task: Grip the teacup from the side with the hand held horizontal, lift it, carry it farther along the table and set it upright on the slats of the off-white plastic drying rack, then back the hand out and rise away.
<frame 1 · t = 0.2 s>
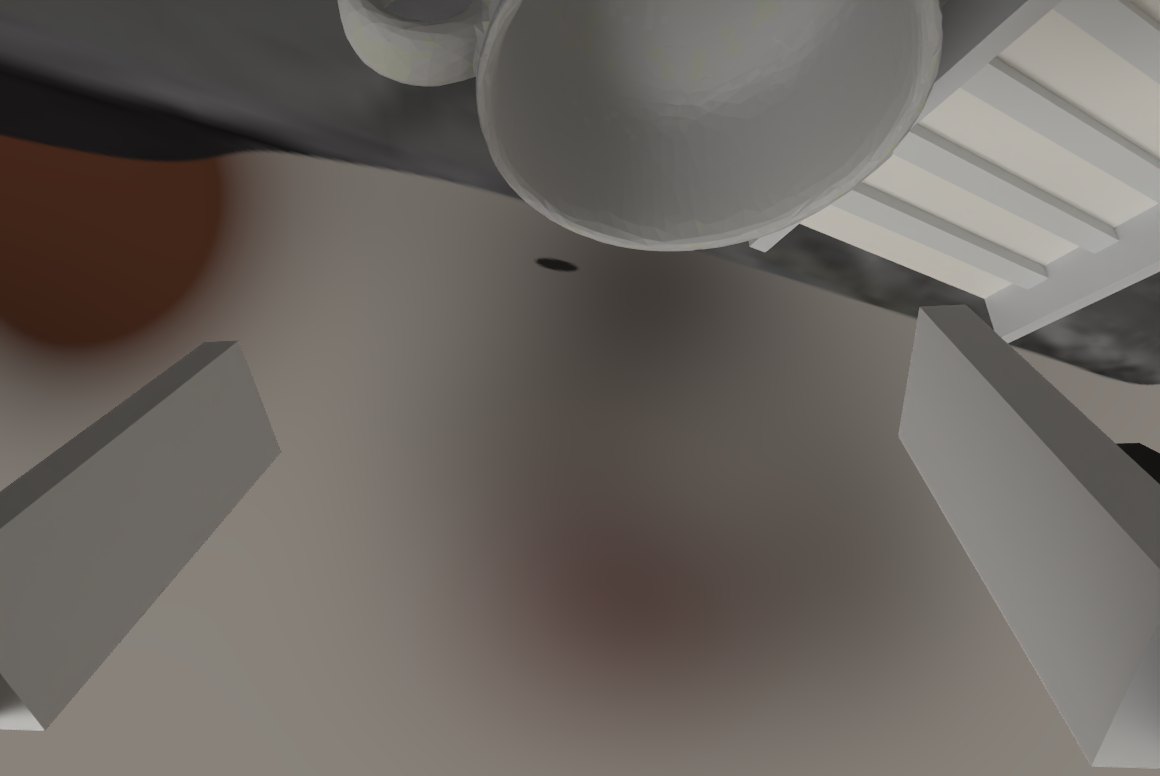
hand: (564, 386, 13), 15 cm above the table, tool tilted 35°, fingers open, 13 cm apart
drying rack: (1022, 130, 26), on the table
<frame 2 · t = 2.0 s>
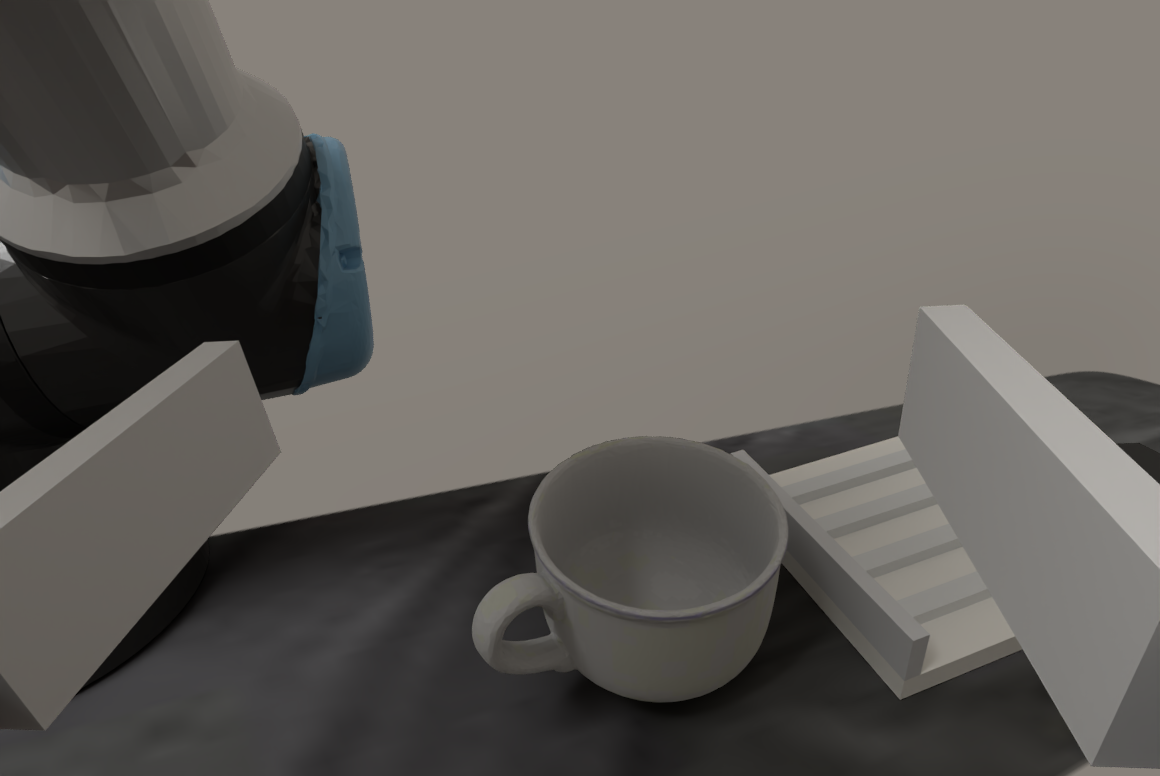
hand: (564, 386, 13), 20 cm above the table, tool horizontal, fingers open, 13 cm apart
drying rack: (929, 538, 35), on the table
teacup: (630, 651, 31), on the table
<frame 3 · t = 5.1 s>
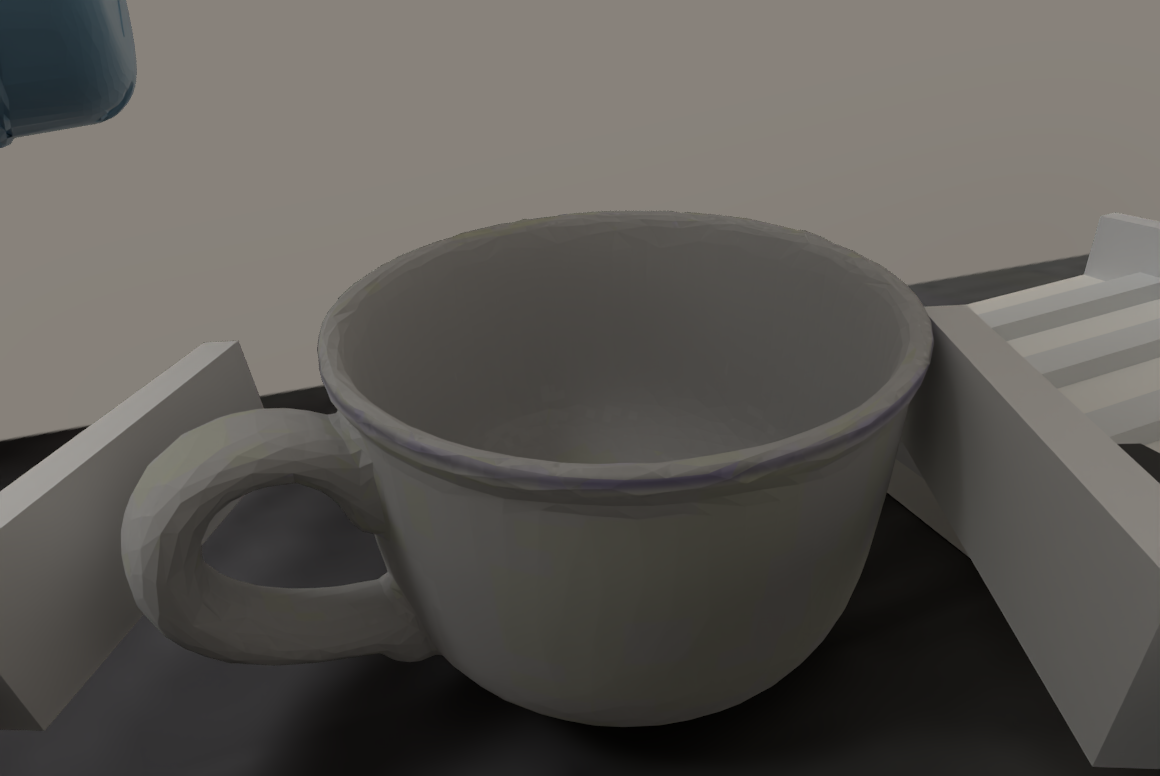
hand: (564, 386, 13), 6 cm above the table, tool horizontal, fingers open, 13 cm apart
drying rack: (1115, 426, 20), on the table
teacup: (575, 620, 16), on the table, touching gripper
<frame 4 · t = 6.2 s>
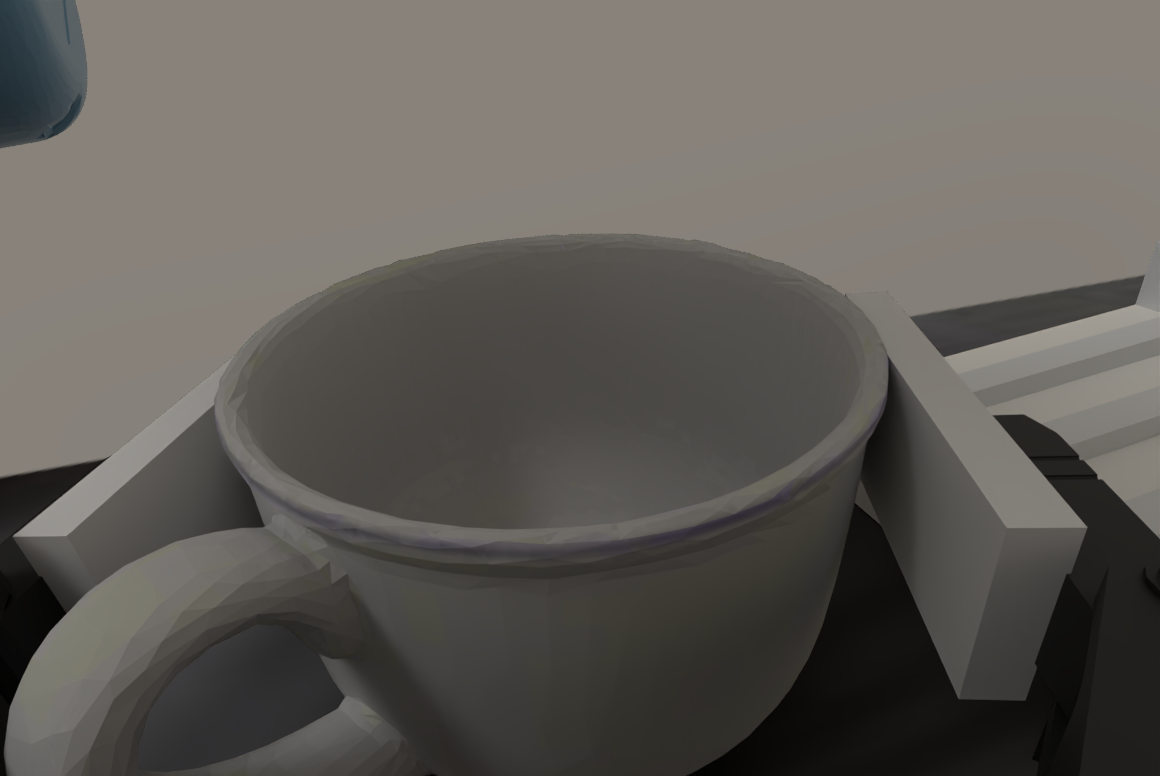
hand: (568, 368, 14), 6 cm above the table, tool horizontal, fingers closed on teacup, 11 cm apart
teacup: (541, 683, 14), on the table, touching gripper
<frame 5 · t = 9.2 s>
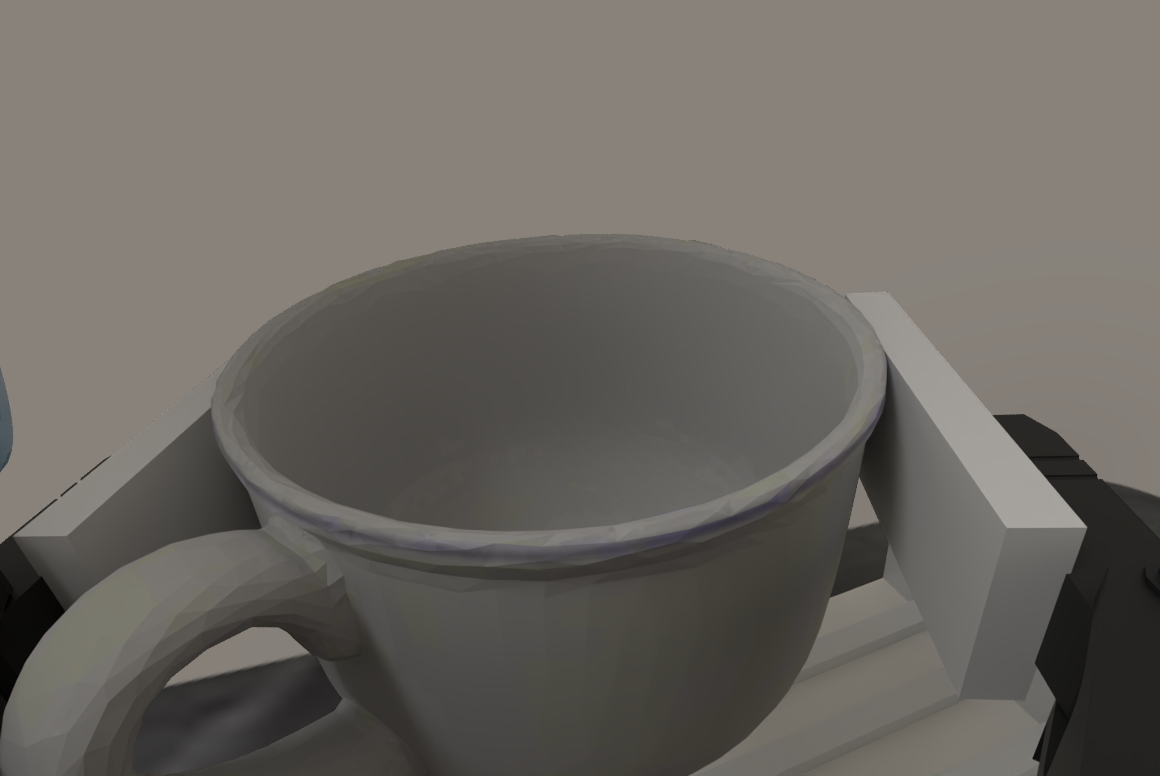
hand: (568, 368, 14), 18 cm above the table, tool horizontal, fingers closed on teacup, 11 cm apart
teacup: (539, 685, 14), point 12 cm above the table, touching gripper
when the fingers open (9 cm above the table, at t = 12.3 s): teacup drops 1 cm, resting on drying rack.
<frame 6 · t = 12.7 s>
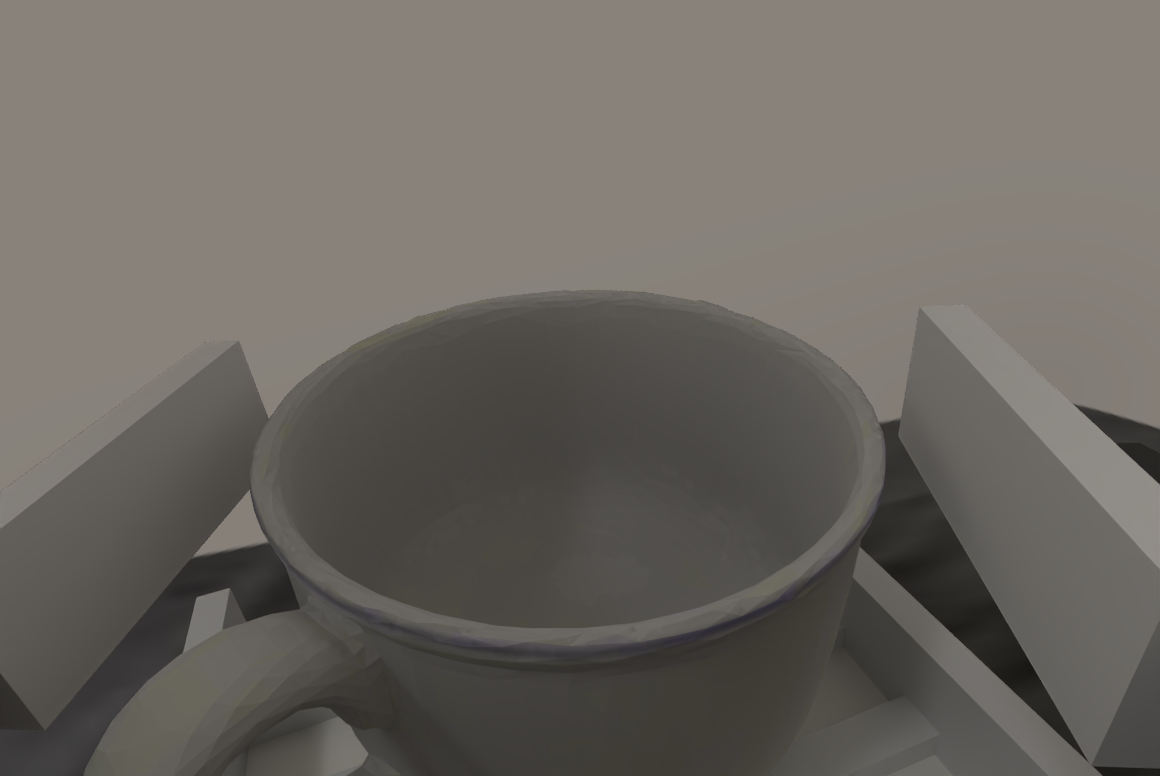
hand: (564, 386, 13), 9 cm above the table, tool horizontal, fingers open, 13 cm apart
teacup: (549, 727, 15), point 2 cm above the table, touching drying rack
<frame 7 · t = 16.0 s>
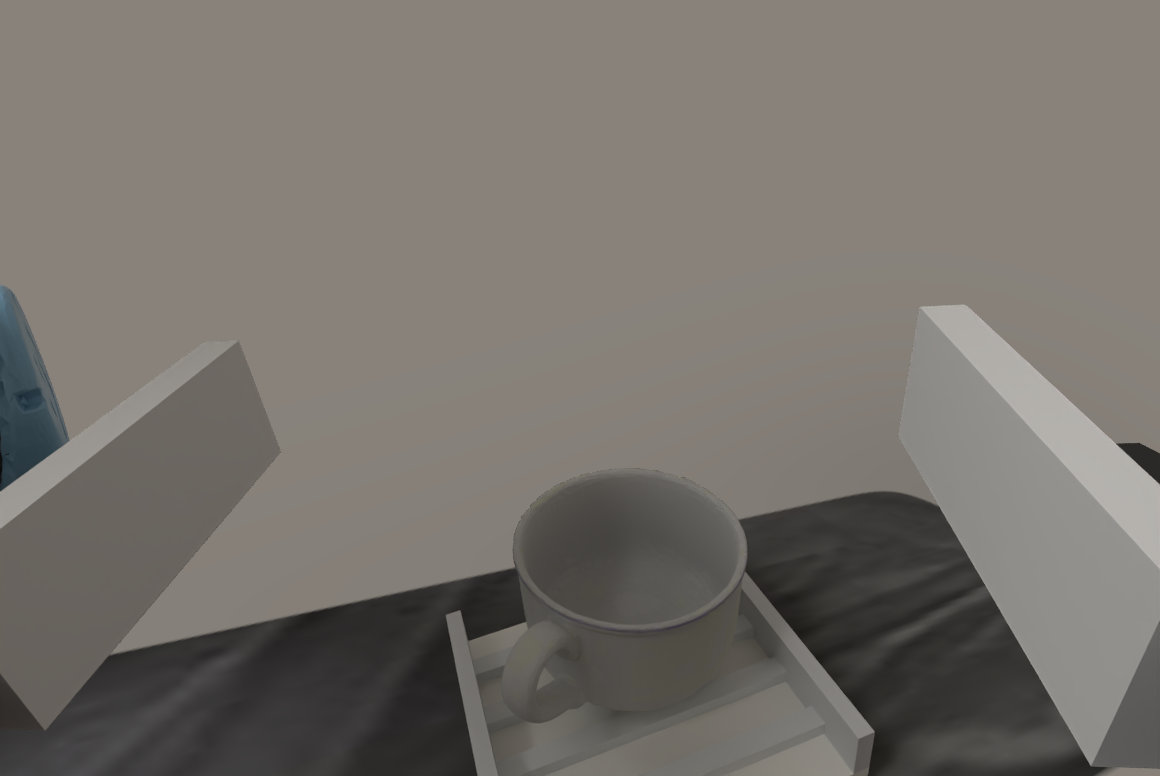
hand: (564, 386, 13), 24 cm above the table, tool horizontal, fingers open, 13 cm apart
drying rack: (637, 714, 33), on the table
teacup: (617, 672, 34), point 2 cm above the table, touching drying rack
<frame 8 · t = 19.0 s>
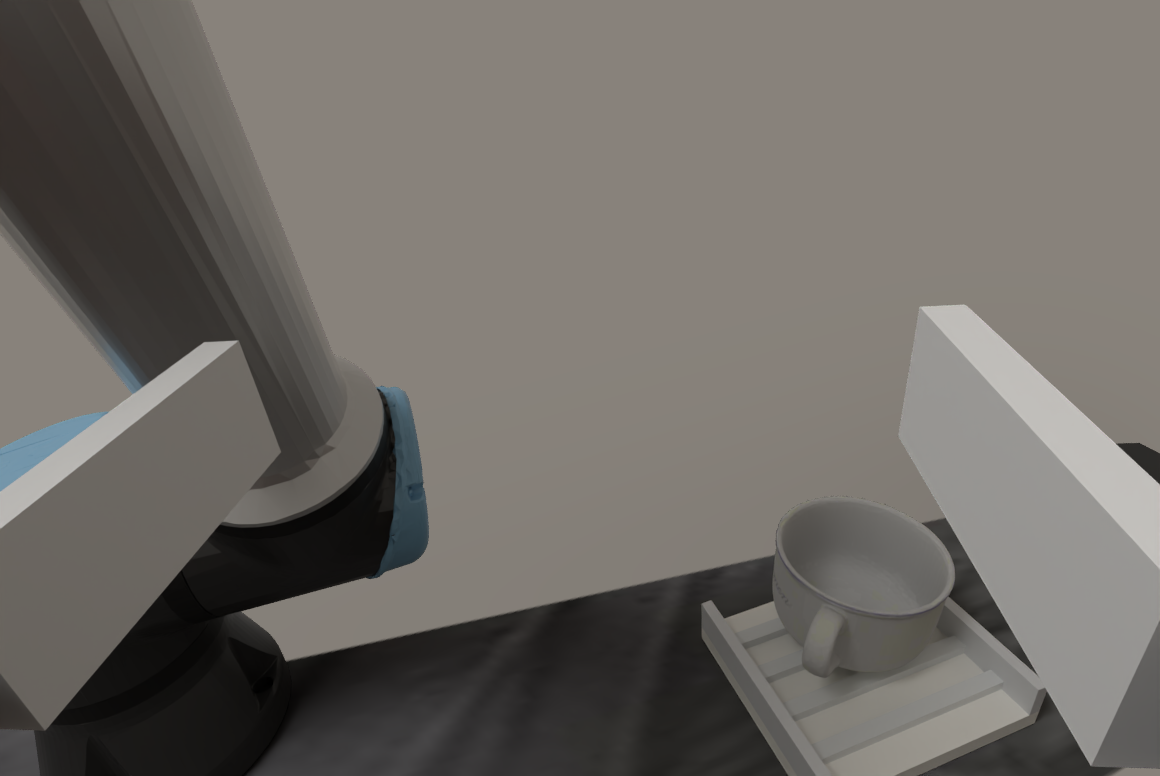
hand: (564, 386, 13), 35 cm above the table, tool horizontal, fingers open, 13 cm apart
drying rack: (853, 676, 46), on the table
teacup: (838, 646, 46), point 2 cm above the table, touching drying rack
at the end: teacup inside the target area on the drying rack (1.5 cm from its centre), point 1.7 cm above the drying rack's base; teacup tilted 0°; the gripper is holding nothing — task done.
